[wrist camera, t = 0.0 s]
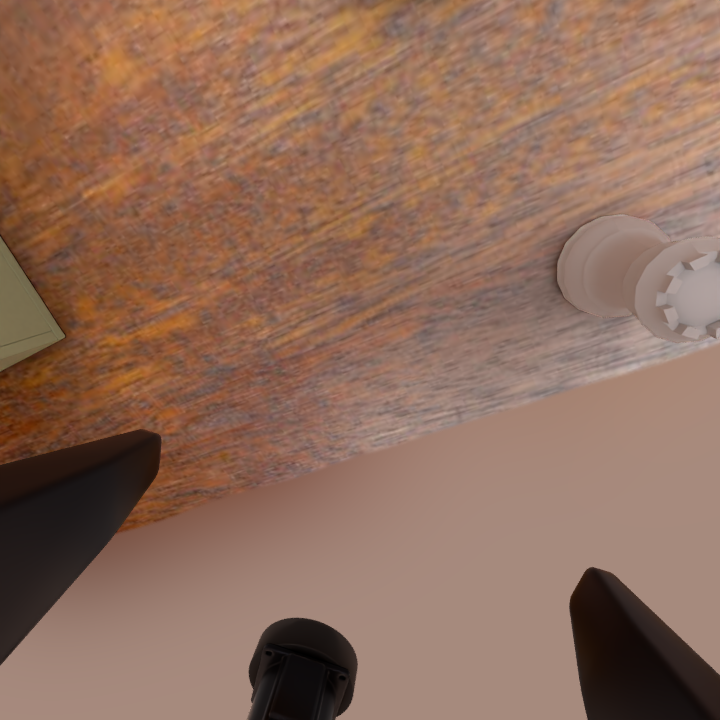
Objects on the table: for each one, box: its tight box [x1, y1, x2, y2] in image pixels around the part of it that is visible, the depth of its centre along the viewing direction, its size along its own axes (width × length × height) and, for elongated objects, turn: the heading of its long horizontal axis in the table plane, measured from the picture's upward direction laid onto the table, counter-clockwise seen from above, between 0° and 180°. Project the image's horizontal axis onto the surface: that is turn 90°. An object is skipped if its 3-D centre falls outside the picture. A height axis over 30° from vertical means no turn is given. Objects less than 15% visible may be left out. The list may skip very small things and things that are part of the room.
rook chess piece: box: [557, 214, 720, 343], centre depth 16 cm, size 4×4×8 cm
